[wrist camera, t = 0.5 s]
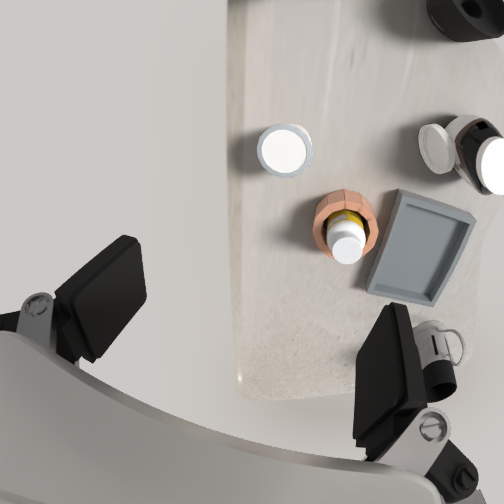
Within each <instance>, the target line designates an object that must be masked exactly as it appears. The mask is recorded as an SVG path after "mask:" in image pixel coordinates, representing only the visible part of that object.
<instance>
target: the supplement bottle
mask: <svg viewBox="0 0 504 504" xmlns="http://www.w3.org/2000/svg"><path fill="white" fill-rule="evenodd" d="M365 241H366V238H365V232H364V227H363V223H362V218H361V215H360V213H359V212H357V211H353V210H349V209H342V210H338V211H335V212H332V213H331V214H330V215H329V216H328V220H327V244H328V247H329V249H330V250H331V252H332V255H333V257H334V258H335V260H336V261H338V262H340V263H342V264H352V263H354V262H356V261H358V260H359V258H360V257H361V255H362V250H363V248H364V245H365Z"/></svg>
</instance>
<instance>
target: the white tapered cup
mask: <svg viewBox="0 0 504 504" xmlns="http://www.w3.org/2000/svg"><path fill="white" fill-rule="evenodd" d="M257 154H258V159H259V161H260V162H261V164H262V166H263V167H264V168H265V169H266V170H267V171H268V172H269V173H271V174H273V175H275V176H278V177H281V178H289V177H294V176H297V175H299V174H301V173H302V172H303V171H304V170H305V169H306V168H307V167H308V166H309V164H310V162H311V159H312V143H311V139H310V136H309V134H308V132H307V131H306V130H305V129H304V128H303V127H301V126H299V125H296V124H279V125H275V126H273V127H271V128H268V129H266V131H265V132H264V133H263V134H262V135H261V136H260V138H259V141H258V145H257Z"/></svg>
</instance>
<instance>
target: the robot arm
mask: <svg viewBox="0 0 504 504" xmlns="http://www.w3.org/2000/svg"><path fill="white" fill-rule="evenodd" d="M54 293H55V295H56V298H55V299H54V300H53V298H52V296H51V295H50V294H48V293H44V292H43V293H37V294H34V295H31V296H30V297H29V298H28V299H26V300H25V302H24V303H23V305H22V307H21V311H16V312H11V313H6V314H1V315H0V504H486V502H485V499H484V497H483V495H482V493H481V490H480V489H479V490H476V487H477V485H478V472H477V469H476V467H475V466H474V465H473V463H471V461H470V460H469V459H468V458H467V457H466V456H465V455H464V454H463V453H462V452H461V451H460V450H459V449H458V448H457V447H456V446H455V445H454V444H453V443H452V442H451V441H450V440H449V436H450V434H451V425H450V421H449V419H448V417H447V416H446V415H445V413H444V412H442V411H441V410H439V409H437V408H433V407H429V408H428V407H427V398H426V391H425V384H424V378H423V372H422V366H421V360H420V355H419V350H418V347H417V345H416V344H415V339H414V334H413V330H412V325H411V321H410V317H409V313H408V309H407V306H406V305H403V304H399V303H394V302H391V303H390V304H389V305H385V306H384V308H383V309H382V311H381V313H380V315H379V317H378V319H377V321H376V322H375V324H374V326H373V328H372V330H371V332H370V333H369V335H368V337H367V339H366V340H365V342H364V344H363V345H362V347H361V349H360V350H359V352H358V354H357V358H356V381H355V406H354V423H353V439H356V447H364V448H366V457H364V458H363V459H362V460H361V461H359V460H350V459H341V458H333V457H326V456H320V455H314V454H308V453H302V452H297V451H291V450H286V449H281V448H277V447H272V446H268V445H264V444H260V443H256V442H252V441H248V440H244V439H241V438H237V437H234V436H230V435H227V434H224V433H221V432H218V431H215V430H211V429H209V428H206V427H203V426H199V425H197V424H194V423H192V422H189V421H186V420H183V419H181V418H178V417H176V416H173V415H171V414H169V413H166V412H164V411H161V410H159V409H157V408H155V407H152V406H150V405H148V404H146V403H143V402H141V401H139V400H137V399H135V398H133V397H131V396H129V395H127V394H125V393H123V392H121V391H119V390H117V389H115V388H113V387H111V386H109V385H108V384H106V383H104V382H102V381H100V380H98V379H97V378H95V377H93V376H92V375H90V374H88V373H86V372H85V371H83V370H82V369H80V368H79V359H80V357H81V356H82V357H83V358H84V359H86V360H88V361H89V362H91V363H94V362H95V360H96V359H97V358H101V357H102V355H103V354H104V353H105V352H106V350H107V349H108V348H109V346H110V345H111V344H112V343H113V341H114V340H115V339H116V338H117V336H118V335H119V334H120V332H121V331H122V330H123V329H124V327H125V326H126V325H127V324H128V322H129V321H130V320H131V319H132V317H133V316H134V315H135V314H136V313H137V311H138V310H139V309H140V307H141V306H142V305H143V304H144V303H145V301H146V298H147V293H146V286H145V279H144V271H143V263H142V254H141V245H140V243H139V242H138V240H137V239H136V238H135V237H131V236H127V235H122V236H120V237H119V238H118V239H116V240H115V241H114V242H113V243H112V244H110V245H109V246H108V247H106V248H105V249H104V250H102V251H101V252H100V253H99V254H98V255H96V256H95V257H94V258H93V259H92V260H90V261H89V262H88V263H87V264H85V265H84V266H83V267H82V268H81V269H80V270H78V272H76V273H75V274H74V275H73V276H71V278H69V279H68V280H67V281H66V282H65V283H64V284H62V285H61V286H60V287H59V288H58V289H57V290H56V291H55V292H54Z"/></svg>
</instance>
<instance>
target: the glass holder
mask: <svg viewBox="0 0 504 504" xmlns="http://www.w3.org/2000/svg"><path fill="white" fill-rule="evenodd" d="M449 331H451V332H454V333H455V334H456V335H457V336H458V337H459V339H460V341H461V344H462V348H463V354H462V357H461V359H460V361H459V362H458V363H457V364H456V363H455V362H454V360H453V357H452V355H451V353H450V349H449V345H448V341H447V338H446V334H445V332H449ZM413 334H414V339H415V344H416V345H417V347H418V350H419V355H420V360H421V366H422V372H423V378H424V384H425V391H426V398H427V403H432V402H437V401H441V400H443V399H445V398H447V397H449V396H451V395H452V394H453V393H454V392H455V391H456V389H457V384H456V379H455V375H454V370H453V365H454V366H459V365H460V364H461V363H462V362H463V360H464V358H465V355H466V346H465V342H464V339H463V338H462V336H461V334H460V333H458V332H457V331H456V330H453V329H447V330H446V327H445V325H444V324H443V323H442V322H440V321H437V320H431V321H427V322H424V323H422V324H420V325H418V326H417V327H416V328H415V329H414V330H413Z"/></svg>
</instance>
